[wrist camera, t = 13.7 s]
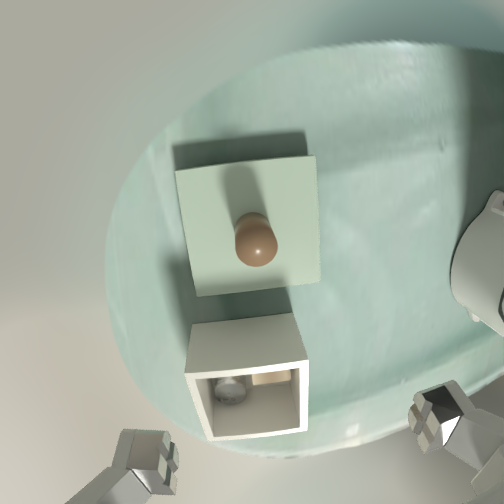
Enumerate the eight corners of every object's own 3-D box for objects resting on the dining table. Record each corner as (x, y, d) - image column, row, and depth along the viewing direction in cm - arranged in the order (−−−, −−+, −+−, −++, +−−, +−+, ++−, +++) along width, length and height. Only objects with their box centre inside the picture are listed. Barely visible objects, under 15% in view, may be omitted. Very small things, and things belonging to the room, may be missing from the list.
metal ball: (243, 364, 35) (244, 382, 32) (246, 385, 37) (248, 403, 34) (212, 367, 35) (212, 385, 32) (217, 388, 37) (217, 405, 34)
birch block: (283, 329, 34) (289, 352, 30) (285, 356, 35) (290, 380, 32) (247, 333, 34) (249, 357, 30) (250, 361, 35) (253, 385, 31)
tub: (292, 312, 34) (308, 359, 27) (295, 382, 38) (307, 430, 31) (192, 323, 34) (184, 373, 26) (209, 392, 38) (207, 441, 30)
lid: (308, 153, 28) (330, 160, 22) (314, 271, 33) (333, 304, 26) (179, 168, 28) (164, 179, 22) (199, 285, 32) (192, 322, 26)
